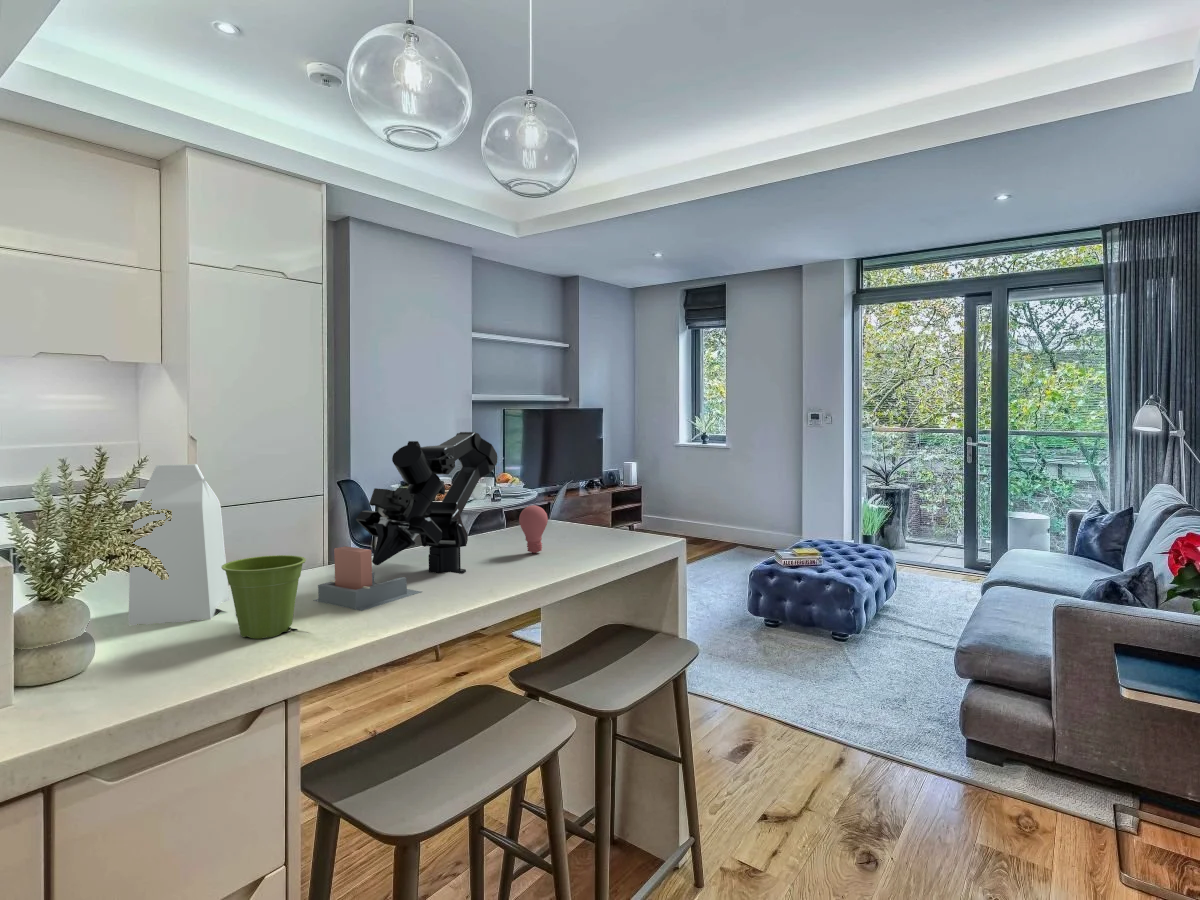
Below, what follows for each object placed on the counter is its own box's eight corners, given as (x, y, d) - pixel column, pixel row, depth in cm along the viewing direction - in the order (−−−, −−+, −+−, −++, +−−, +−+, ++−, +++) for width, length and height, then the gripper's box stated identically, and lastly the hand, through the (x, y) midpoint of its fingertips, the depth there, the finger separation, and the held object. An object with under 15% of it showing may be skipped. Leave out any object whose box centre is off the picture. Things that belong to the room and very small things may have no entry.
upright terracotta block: (350, 593, 121) (349, 545, 121) (376, 598, 117) (375, 549, 117) (335, 597, 118) (334, 548, 118) (361, 602, 115) (360, 552, 114)
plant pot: (320, 630, 104) (319, 560, 103) (240, 650, 95) (238, 574, 94) (289, 616, 112) (287, 551, 111) (212, 633, 103) (209, 562, 102)
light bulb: (517, 551, 165) (516, 504, 165) (544, 549, 167) (544, 503, 167) (522, 556, 159) (521, 507, 158) (550, 554, 161) (550, 506, 160)
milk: (128, 625, 107) (122, 467, 106) (155, 606, 118) (150, 463, 117) (210, 619, 110) (205, 466, 109) (229, 601, 121) (225, 461, 120)
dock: (375, 588, 130) (374, 567, 130) (422, 596, 123) (422, 574, 123) (313, 605, 118) (312, 582, 117) (361, 616, 111) (361, 592, 111)
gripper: (362, 470, 130) (315, 534, 121) (429, 474, 120) (383, 544, 112) (394, 504, 137) (352, 567, 128) (460, 510, 128) (419, 579, 119)
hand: (374, 563), depth 122 cm, fingers closed
